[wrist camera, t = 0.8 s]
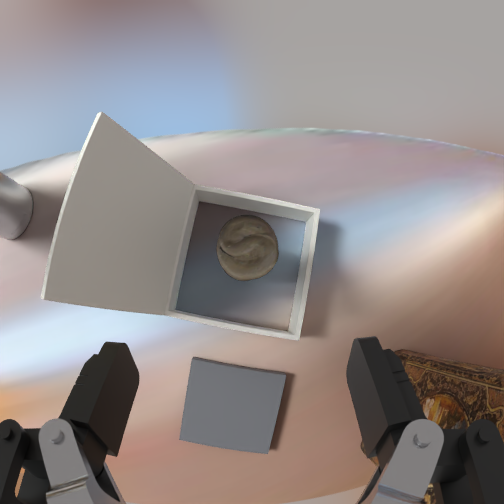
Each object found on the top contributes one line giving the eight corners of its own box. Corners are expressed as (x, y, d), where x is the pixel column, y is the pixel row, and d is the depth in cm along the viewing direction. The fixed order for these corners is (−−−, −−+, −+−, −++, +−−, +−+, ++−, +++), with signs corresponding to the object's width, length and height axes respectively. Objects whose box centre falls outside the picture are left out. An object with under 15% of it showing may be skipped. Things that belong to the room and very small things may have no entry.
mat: (181, 435, 35) (179, 439, 33) (193, 356, 37) (192, 359, 35) (266, 449, 35) (267, 453, 33) (284, 372, 37) (286, 375, 36)
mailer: (121, 301, 37) (39, 297, 18) (148, 188, 40) (96, 111, 21) (291, 336, 38) (344, 365, 19) (310, 218, 41) (369, 156, 22)
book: (391, 347, 38) (528, 375, 14) (419, 352, 39) (550, 375, 14) (358, 447, 36) (451, 538, 11) (387, 447, 36) (484, 523, 11)
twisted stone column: (271, 274, 39) (295, 257, 24) (234, 294, 38) (235, 290, 23) (250, 236, 40) (261, 198, 25) (213, 256, 39) (202, 228, 24)
